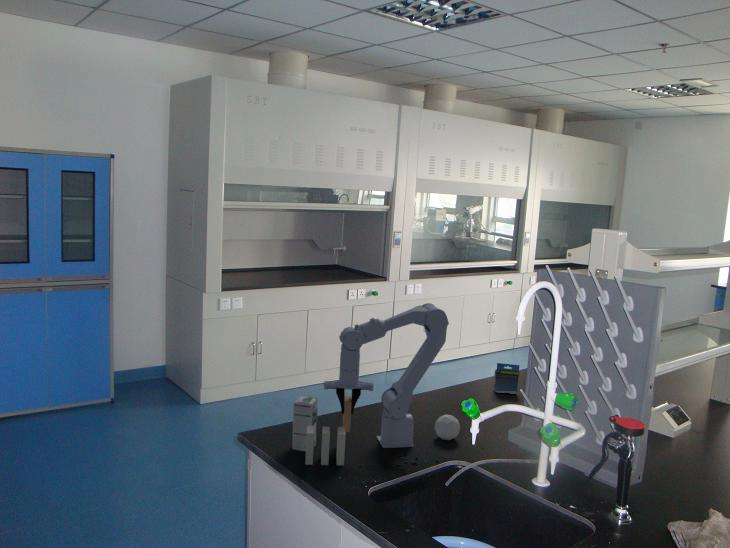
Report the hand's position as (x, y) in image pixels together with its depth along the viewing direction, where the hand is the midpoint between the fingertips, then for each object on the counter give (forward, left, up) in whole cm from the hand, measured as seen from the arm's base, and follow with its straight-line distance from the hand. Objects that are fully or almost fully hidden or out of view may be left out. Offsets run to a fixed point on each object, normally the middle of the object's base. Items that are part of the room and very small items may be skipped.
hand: (347, 412), depth 174 cm
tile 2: (+4, +11, -10) cm, 15 cm away
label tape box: (-72, -40, -10) cm, 83 cm away
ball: (-32, -1, -10) cm, 34 cm away
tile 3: (+8, +10, -10) cm, 16 cm away
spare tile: (0, 0, -5) cm, 5 cm away
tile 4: (+12, +9, -10) cm, 18 cm away
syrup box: (+13, 0, -10) cm, 16 cm away
